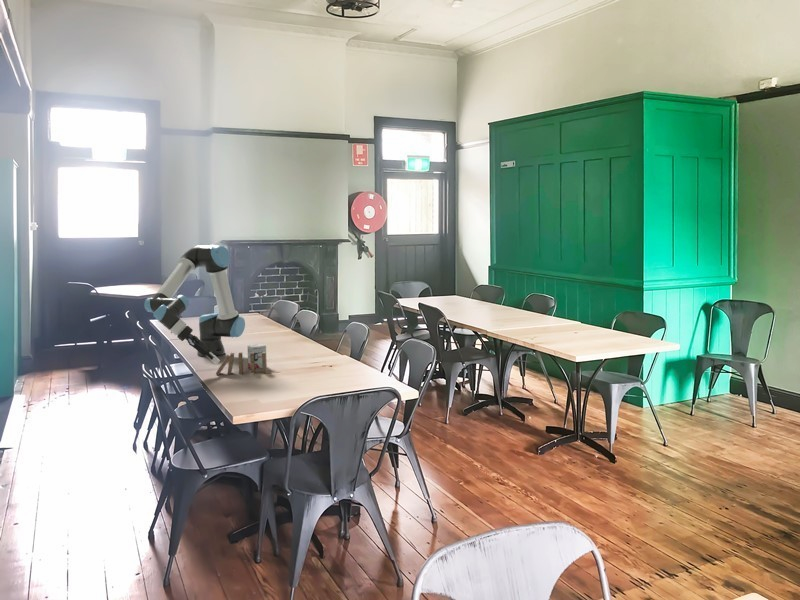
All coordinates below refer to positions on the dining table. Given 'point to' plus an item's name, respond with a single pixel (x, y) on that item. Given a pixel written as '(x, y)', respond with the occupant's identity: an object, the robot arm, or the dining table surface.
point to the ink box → (256, 355)
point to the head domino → (223, 365)
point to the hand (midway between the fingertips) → (218, 362)
